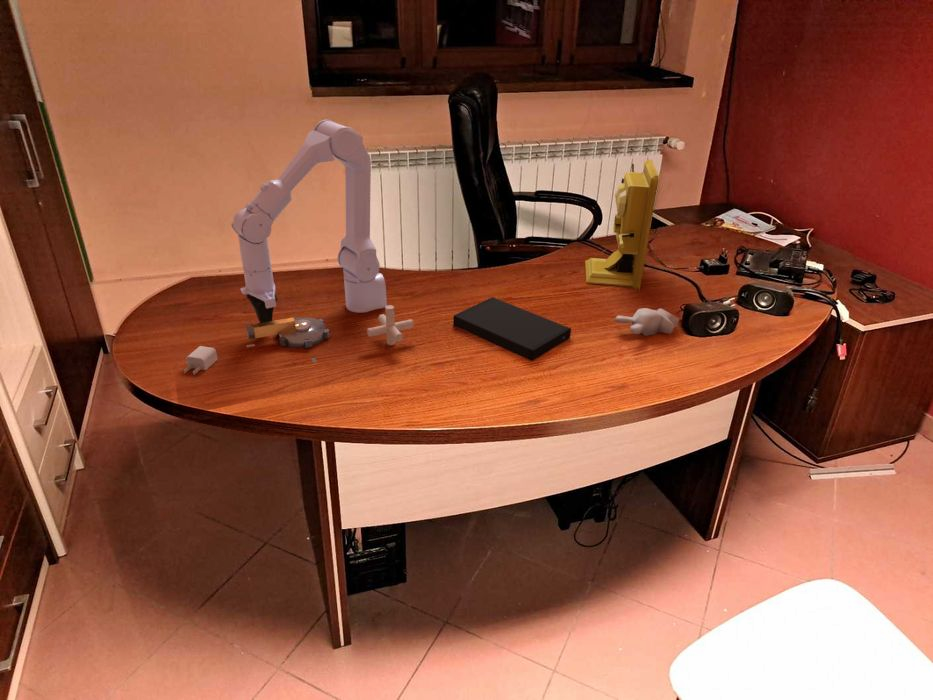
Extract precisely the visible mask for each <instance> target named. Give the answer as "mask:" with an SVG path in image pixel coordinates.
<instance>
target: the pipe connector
mask: <svg viewBox="0 0 933 700" xmlns="http://www.w3.org/2000/svg"><path fill="white" fill-rule="evenodd" d="M384 309H385V310H384V311H385V314H384V313H383V314H379V315H378V318H377V320H378V322H380V324H381V325H378V326H374V327H368V328H367V329H366V334H367V336H368V337H369V338H371V337H376V336H380V335H385V334H386V344H387V346H393V345H395V344H396V342H398V343H399V342H402V340H403V339H404V335H403V333H401V331H402V330H403V331H404V330H408V329H411V328H415V327H414V326H415V325H414V324H415V323H414V321H413V319H412V318H409V319H406V320H401V321H397V322H395V320H396V319H395V307H394V305H390V304H389V305H388V304H387V306H386V307H385V308H384Z"/></svg>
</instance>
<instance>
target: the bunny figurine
mask: <svg viewBox="0 0 933 700" xmlns="http://www.w3.org/2000/svg"><path fill="white" fill-rule="evenodd" d="M679 320H680V318H678V317H676V315H673V314H672V313H670V312H668V311H667V310H665V309H663V308H658V309H657V310H656V309H651V308H648V307H645V308H644V307H643V308H638V309H637V310H636V312H635V313H634V314H633V316H625V315H617V316H616V317H615V318H614V322H616V323H630V324H631V325H630V328H629V329H630V332H631V334H635V335H640V334H641V333H642V335H643V336H653V335H656V334H657V333H665V334H671V333H673V332H674V329H675V327H676V326H678V323H679Z"/></svg>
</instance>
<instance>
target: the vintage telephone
mask: <svg viewBox="0 0 933 700" xmlns="http://www.w3.org/2000/svg"><path fill="white" fill-rule="evenodd" d="M634 165H635V164H634V163H631V171H626V172H625V173H624V175H623V177H622V178H621V182H620V183H621V184H619V185H618V187H617V188H616V192H615V194H614V196H615V204H616V212H617V214H615V216H614V220H613V233H614V234H615V236H616V238H614V240H613V241H612V242H611V243H609V245H608V246H607V247H606V248H605V249H603V251H602V252H601V254H599V255H598V256H596V257H590V258H589V259H586V260H585V261H584V263H585V278H586V279H585V282H586V283H587V284H590V285H603V286H604V285H605V286H614V287H627V288H633V289H634V290H637V291H640V289H641V283H642V279H643V272H644V266H645V261H646V255H647V249H648V243H649V238H650V234H651V233H650V231H651V227H652V225H651V224H652V220H653V214H654V210H655V209H654V208H655V205H656V204H655V203H656V197H657V192H658V186H659V185H658V184H659V173H658V171H657V169H656V166H655V164H654V162H653V160H652V158H651V159H650V158H649V159H647V160H645V161H644V164H643V171H642V172H638V171H637V172H635V166H634ZM615 241H617V248H618V249H617V250H616V251H615V250H614V252H612V253H611V254H610V256H608V257H607V258H598V257H599V256H601V255H602V254H603V253H604V252H605V251H606V250H607V249H608V248H609V247H610V246H611V245H612V244H613V243H614V242H615Z"/></svg>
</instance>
